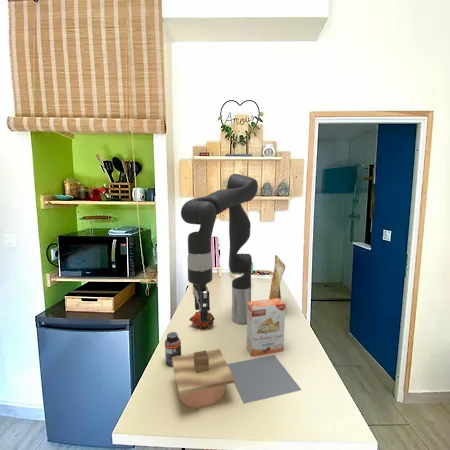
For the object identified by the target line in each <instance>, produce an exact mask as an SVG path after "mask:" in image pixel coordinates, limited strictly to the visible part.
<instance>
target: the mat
mask: <svg viewBox="0 0 450 450" xmlns="http://www.w3.org/2000/svg"><path fill="white" fill-rule="evenodd" d="M227 365H228V367H229V369H230V371H231V373H232V375H233V377H234V379H235V383H233V384H234V386H235V389H236V390H237V392H238V394H239V397H240V399H241V401H242V403H243V404H248V403H254V402H257V401H260V400H265V399H269V398H274V397H278V396H283V395H286V394H290V393H295V392H299V391H302V388H301V387H300V386H299V384H298V382H296V381H295V379H294V378H293V377H292V375H291V373H289V372H288V371H287V369H286V368H285V367H284V365H283V364H282V363H281V362H280V360H279V359H278V357H277V356H276V355H275V354H271V355H266V356H261V357H257V358H251V359H246V360H240V361H235V362H231V363H227Z"/></svg>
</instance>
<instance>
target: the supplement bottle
mask: <svg viewBox="0 0 450 450" xmlns="http://www.w3.org/2000/svg"><path fill="white" fill-rule="evenodd" d="M164 355H165V364H166V365H167V366H168V367H173V363H172V357H176V356H182V342H181V339H180V337H179V335H178V333H177V332H176V331H171V332H169V333H167V334H166V339H165V341H164Z"/></svg>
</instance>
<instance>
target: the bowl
mask: <svg viewBox="0 0 450 450" xmlns="http://www.w3.org/2000/svg"><path fill="white" fill-rule="evenodd" d="M225 391H226V385H223V386H218V387H214V388H209V389H204V390H200V391H195V392H190V393H186V394H181V395H179V394H178V398H179V401H180V402H182V404H184V405H185V406H186V407H187V408H193V409H197V410H199V409H200V408H204V407H207V406H213V405H215V404H216V403H217V402H219V401H220V400H221V399H222V398H224V397H223V396H224V394H225Z"/></svg>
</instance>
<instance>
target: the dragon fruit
mask: <svg viewBox="0 0 450 450" xmlns="http://www.w3.org/2000/svg"><path fill="white" fill-rule="evenodd" d="M189 321H190V322H191V325H192V326H193V327H199V329H204V328H206V329H207V328H208V327H210V326H212V325H213V324H214V321H215V316H214V315H213V314H212V313H211V312H210V311H208V321H207V322H201V321H200V310H197V311H196V312H195V313H194V314H193V315H192V316H191V317H190V318H189Z"/></svg>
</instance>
